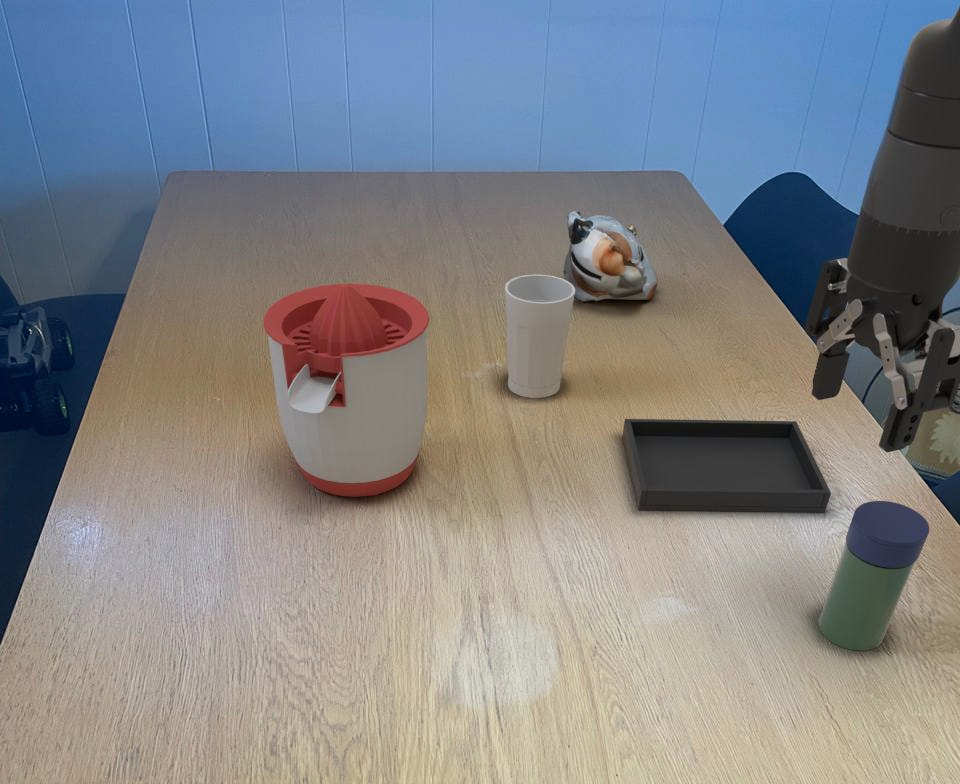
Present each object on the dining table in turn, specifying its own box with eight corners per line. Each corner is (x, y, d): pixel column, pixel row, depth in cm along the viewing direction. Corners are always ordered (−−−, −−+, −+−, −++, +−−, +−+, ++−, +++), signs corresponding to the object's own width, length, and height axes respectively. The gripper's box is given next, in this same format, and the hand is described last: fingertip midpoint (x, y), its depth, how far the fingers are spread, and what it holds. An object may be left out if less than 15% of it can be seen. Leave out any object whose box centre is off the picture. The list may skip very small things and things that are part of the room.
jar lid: (906, 525, 81) (916, 501, 80) (930, 568, 77) (941, 543, 75) (836, 524, 81) (845, 500, 80) (857, 567, 77) (866, 542, 75)
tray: (791, 439, 109) (796, 421, 107) (825, 512, 99) (831, 492, 97) (622, 437, 109) (624, 418, 107) (638, 510, 98) (641, 490, 97)
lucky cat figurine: (675, 294, 138) (684, 223, 125) (612, 344, 136) (614, 277, 123) (605, 235, 143) (606, 160, 130) (543, 282, 141) (537, 211, 128)
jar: (872, 609, 88) (912, 506, 80) (892, 651, 83) (936, 547, 76) (811, 608, 87) (845, 505, 80) (827, 650, 83) (865, 546, 76)
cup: (532, 408, 113) (539, 309, 105) (487, 382, 118) (490, 286, 109) (580, 387, 117) (589, 290, 109) (534, 363, 121) (540, 268, 113)
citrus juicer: (247, 501, 98) (215, 311, 84) (325, 420, 110) (308, 242, 97) (388, 535, 94) (378, 342, 81) (453, 447, 106) (453, 266, 93)
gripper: (1045, 235, 61) (958, 458, 72) (897, 168, 70) (841, 373, 81) (949, 251, 59) (874, 478, 70) (811, 180, 68) (765, 388, 79)
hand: (856, 421), depth 76 cm, fingers open, 8 cm apart
